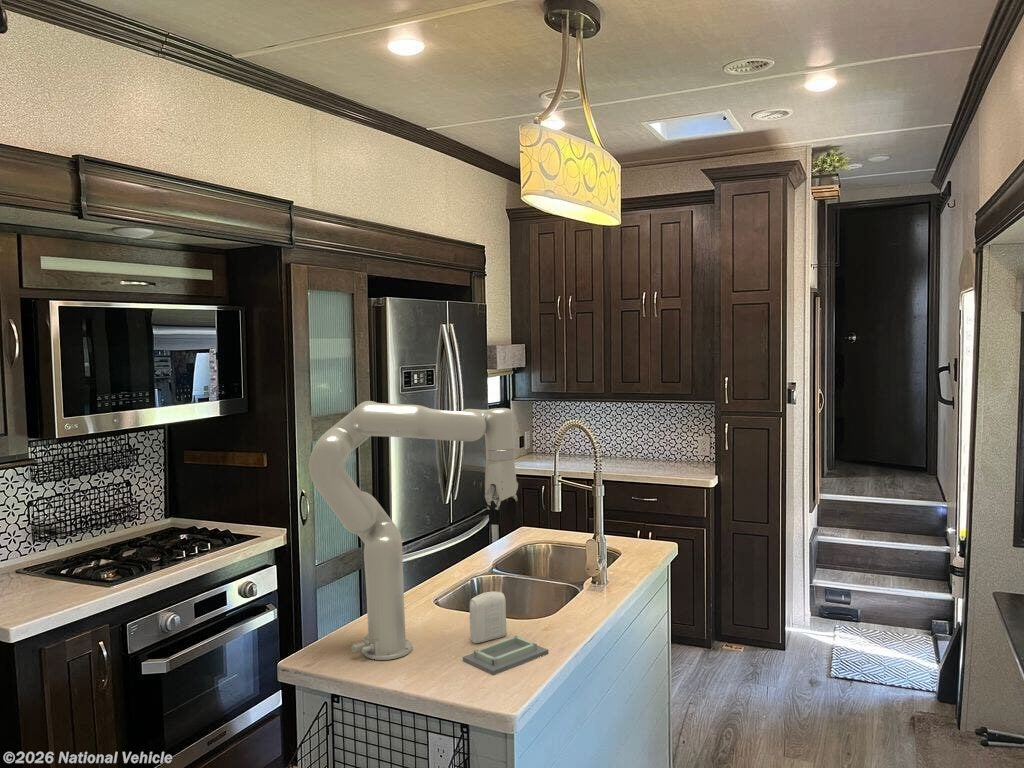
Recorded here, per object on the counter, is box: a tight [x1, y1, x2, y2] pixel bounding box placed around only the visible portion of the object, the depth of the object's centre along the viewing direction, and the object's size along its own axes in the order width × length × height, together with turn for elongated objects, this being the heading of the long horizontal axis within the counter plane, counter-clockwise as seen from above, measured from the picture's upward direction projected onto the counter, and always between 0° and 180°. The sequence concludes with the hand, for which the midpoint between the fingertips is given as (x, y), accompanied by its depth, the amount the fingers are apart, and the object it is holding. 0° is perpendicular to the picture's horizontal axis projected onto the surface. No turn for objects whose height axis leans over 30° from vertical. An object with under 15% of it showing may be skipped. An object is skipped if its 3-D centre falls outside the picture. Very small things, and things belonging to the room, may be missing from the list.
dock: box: [462, 635, 549, 676], centre depth 196 cm, size 18×12×2 cm, turn 131°
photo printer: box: [469, 591, 507, 644], centre depth 209 cm, size 10×4×12 cm, turn 123°
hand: (503, 520), depth 206 cm, fingers open, 9 cm apart
